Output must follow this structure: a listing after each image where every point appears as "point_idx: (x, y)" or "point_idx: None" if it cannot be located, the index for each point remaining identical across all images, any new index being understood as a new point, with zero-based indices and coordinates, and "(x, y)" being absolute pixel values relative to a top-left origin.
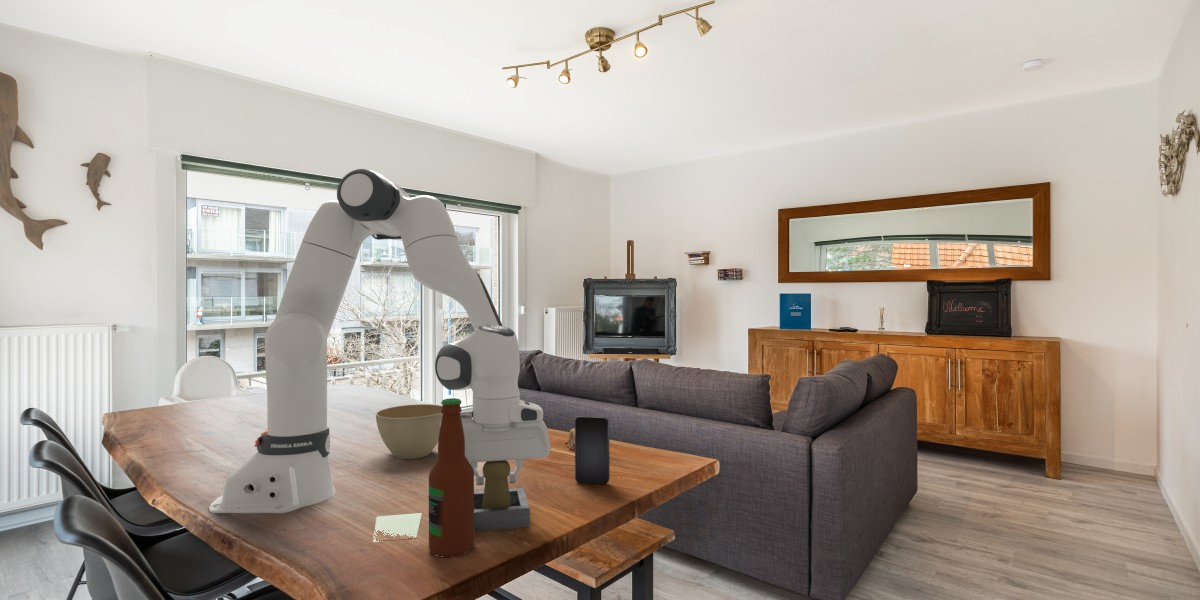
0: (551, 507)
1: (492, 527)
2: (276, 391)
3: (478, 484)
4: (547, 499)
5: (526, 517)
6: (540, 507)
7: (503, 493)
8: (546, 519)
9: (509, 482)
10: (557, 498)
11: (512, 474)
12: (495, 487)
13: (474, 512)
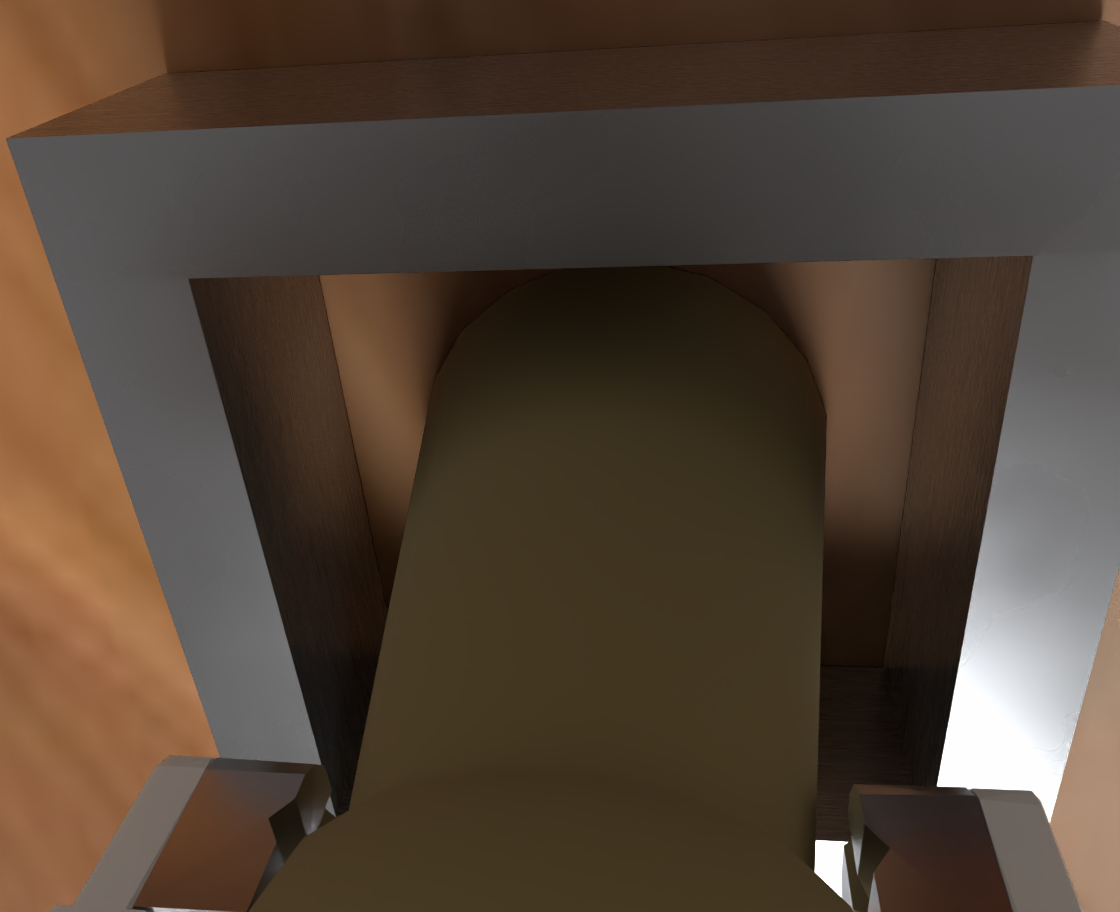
0: (29, 604)
1: (687, 49)
2: None
3: (978, 796)
4: (115, 782)
5: (142, 101)
6: (147, 628)
7: (461, 551)
8: (3, 295)
9: (322, 779)
10: (22, 781)
11: (181, 901)
12: (603, 629)
13: (1055, 98)
